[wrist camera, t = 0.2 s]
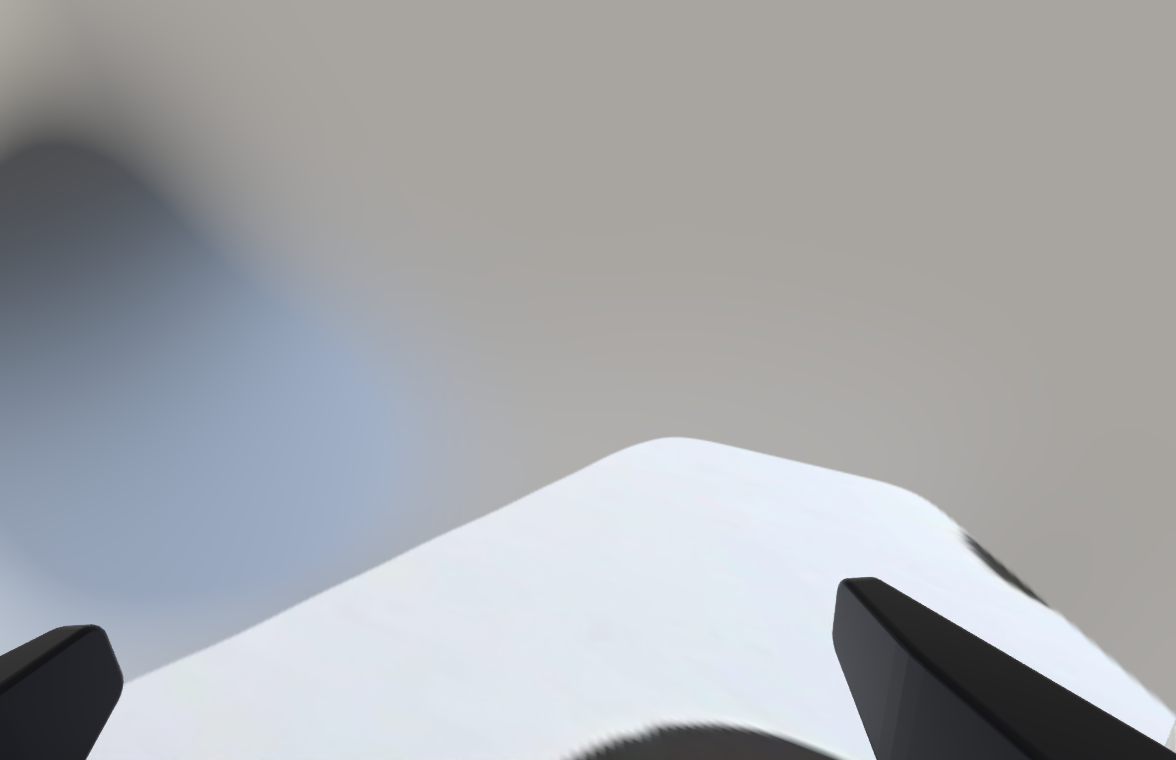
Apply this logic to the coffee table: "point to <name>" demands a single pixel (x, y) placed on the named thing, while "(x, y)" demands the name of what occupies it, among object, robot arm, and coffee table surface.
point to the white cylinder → (1172, 739)
